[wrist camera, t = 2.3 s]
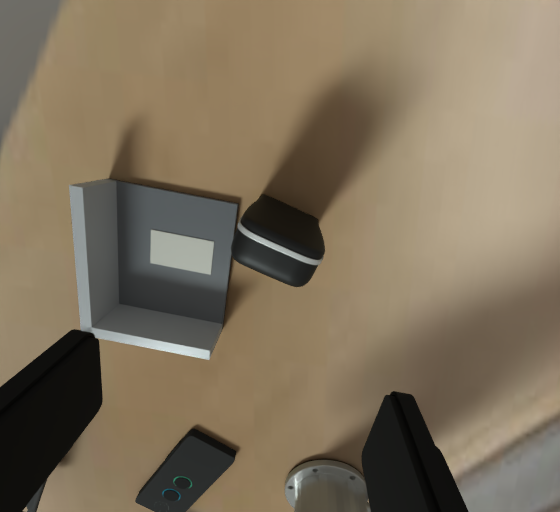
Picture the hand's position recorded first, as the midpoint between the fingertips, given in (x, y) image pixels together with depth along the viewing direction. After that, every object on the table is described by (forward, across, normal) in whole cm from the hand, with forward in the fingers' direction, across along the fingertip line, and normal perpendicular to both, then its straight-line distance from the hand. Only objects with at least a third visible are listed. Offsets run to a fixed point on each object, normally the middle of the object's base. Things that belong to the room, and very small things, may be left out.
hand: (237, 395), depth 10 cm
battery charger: (+24, 0, 0) cm, 24 cm away
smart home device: (+24, +8, +44) cm, 51 cm away
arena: (+23, +12, +7) cm, 27 cm away
